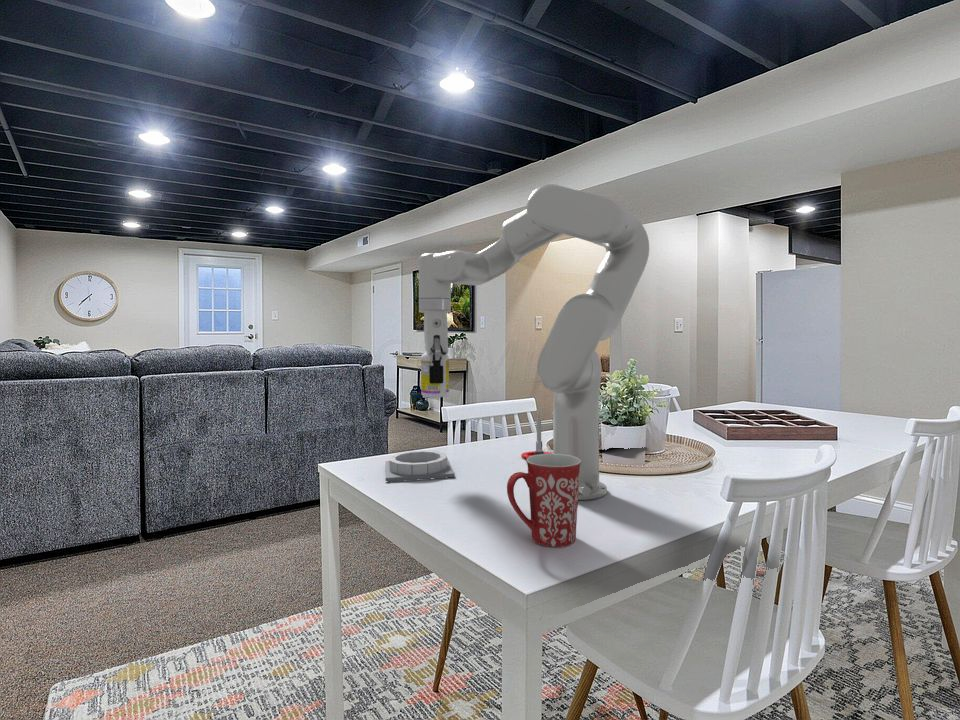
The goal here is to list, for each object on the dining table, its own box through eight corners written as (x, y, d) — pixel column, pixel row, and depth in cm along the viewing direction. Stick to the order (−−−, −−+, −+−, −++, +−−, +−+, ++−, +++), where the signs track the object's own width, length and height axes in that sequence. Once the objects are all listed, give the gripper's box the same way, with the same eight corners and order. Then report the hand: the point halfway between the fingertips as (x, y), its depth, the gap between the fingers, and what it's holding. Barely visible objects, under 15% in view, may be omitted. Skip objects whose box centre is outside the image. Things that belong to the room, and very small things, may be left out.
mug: (567, 526, 99) (566, 451, 98) (591, 545, 90) (590, 463, 89) (499, 535, 95) (498, 457, 95) (518, 556, 87) (516, 470, 86)
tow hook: (520, 455, 154) (523, 462, 145) (519, 408, 154) (522, 412, 144) (550, 455, 154) (555, 461, 145) (549, 408, 154) (555, 412, 145)
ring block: (454, 477, 132) (454, 462, 131) (385, 482, 129) (385, 467, 129) (447, 461, 147) (446, 448, 147) (385, 465, 145) (385, 451, 144)
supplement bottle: (439, 393, 139) (439, 341, 138) (454, 396, 134) (454, 342, 133) (415, 395, 135) (415, 342, 134) (430, 399, 130) (430, 343, 129)
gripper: (455, 306, 125) (454, 385, 126) (446, 307, 142) (446, 377, 143) (421, 305, 123) (421, 386, 125) (416, 306, 140) (417, 377, 142)
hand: (434, 380), depth 134 cm, fingers closed on supplement bottle, 6 cm apart
